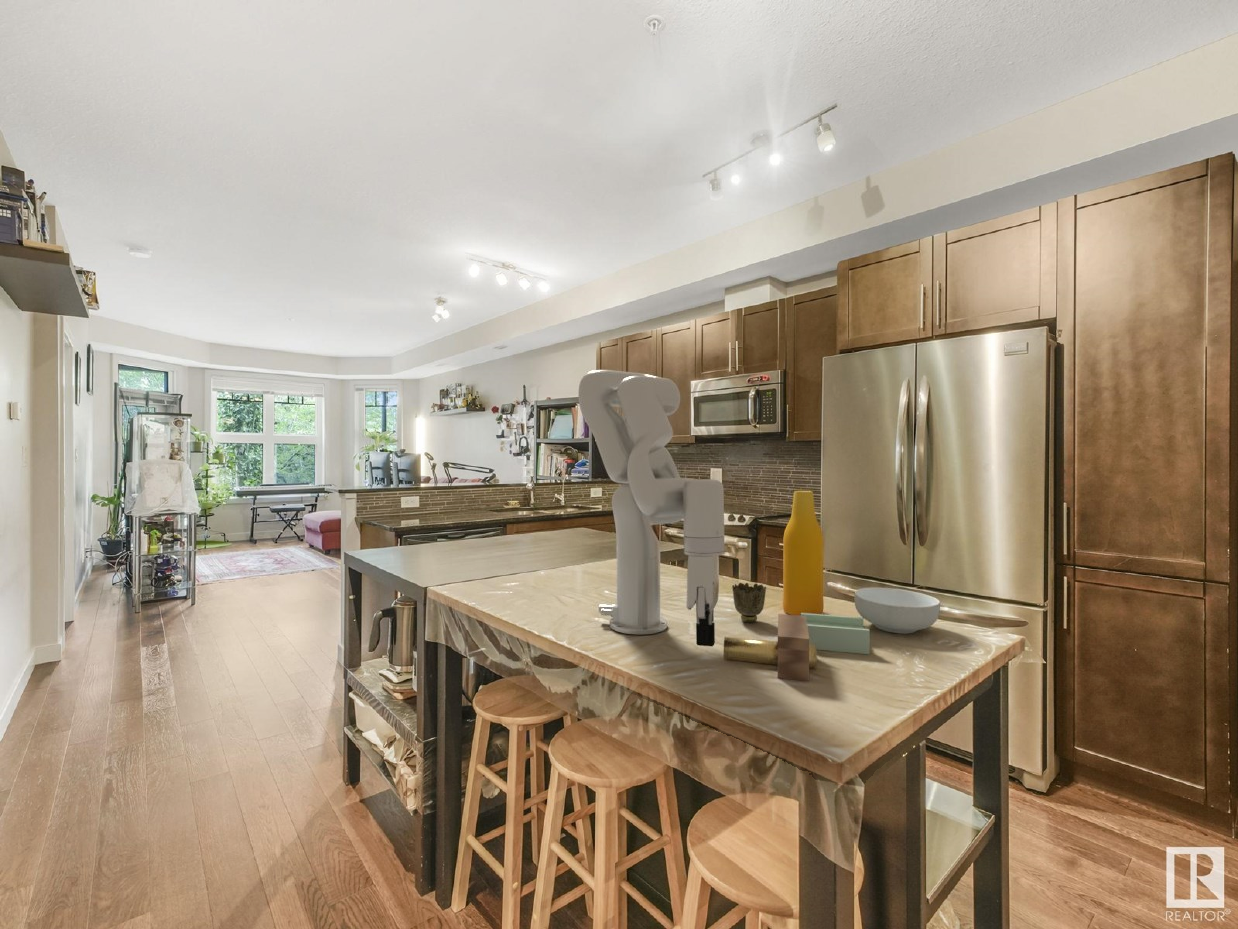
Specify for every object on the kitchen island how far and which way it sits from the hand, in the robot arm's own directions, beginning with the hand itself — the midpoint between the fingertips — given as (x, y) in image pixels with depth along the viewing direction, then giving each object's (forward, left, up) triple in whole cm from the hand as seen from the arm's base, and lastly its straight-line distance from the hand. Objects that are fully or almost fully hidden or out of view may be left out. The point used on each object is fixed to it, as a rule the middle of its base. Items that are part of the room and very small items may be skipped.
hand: (705, 644), depth 104 cm
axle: (+11, +1, -1) cm, 11 cm away
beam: (+15, +1, -2) cm, 16 cm away
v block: (+23, +15, -2) cm, 28 cm away
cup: (+6, +26, -3) cm, 26 cm away
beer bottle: (+18, +37, -3) cm, 41 cm away
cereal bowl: (+37, +30, -3) cm, 48 cm away
